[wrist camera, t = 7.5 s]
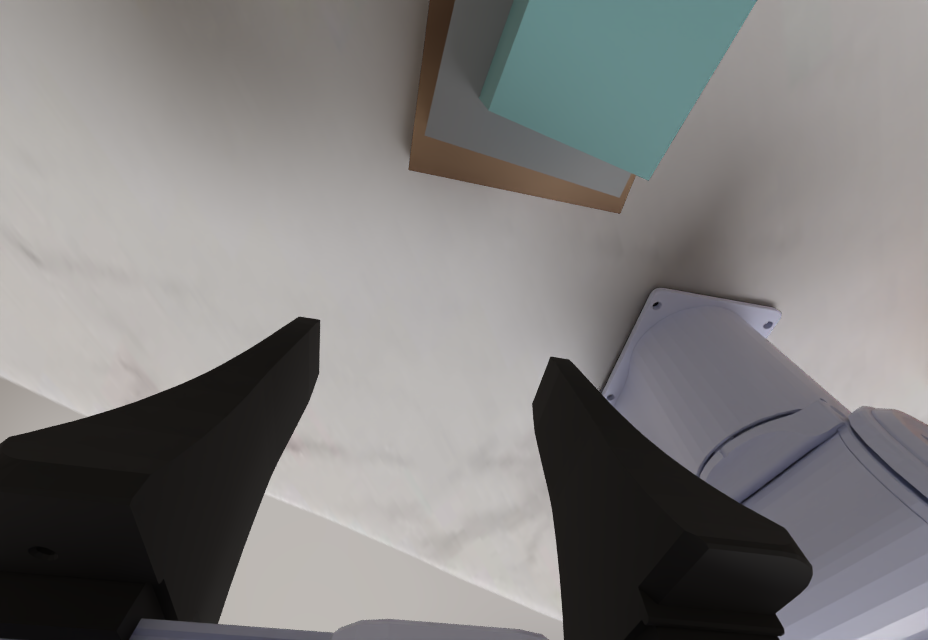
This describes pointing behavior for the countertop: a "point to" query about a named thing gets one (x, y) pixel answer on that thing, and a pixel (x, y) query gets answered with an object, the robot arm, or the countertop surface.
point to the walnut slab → (477, 166)
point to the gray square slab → (485, 132)
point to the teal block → (609, 71)
